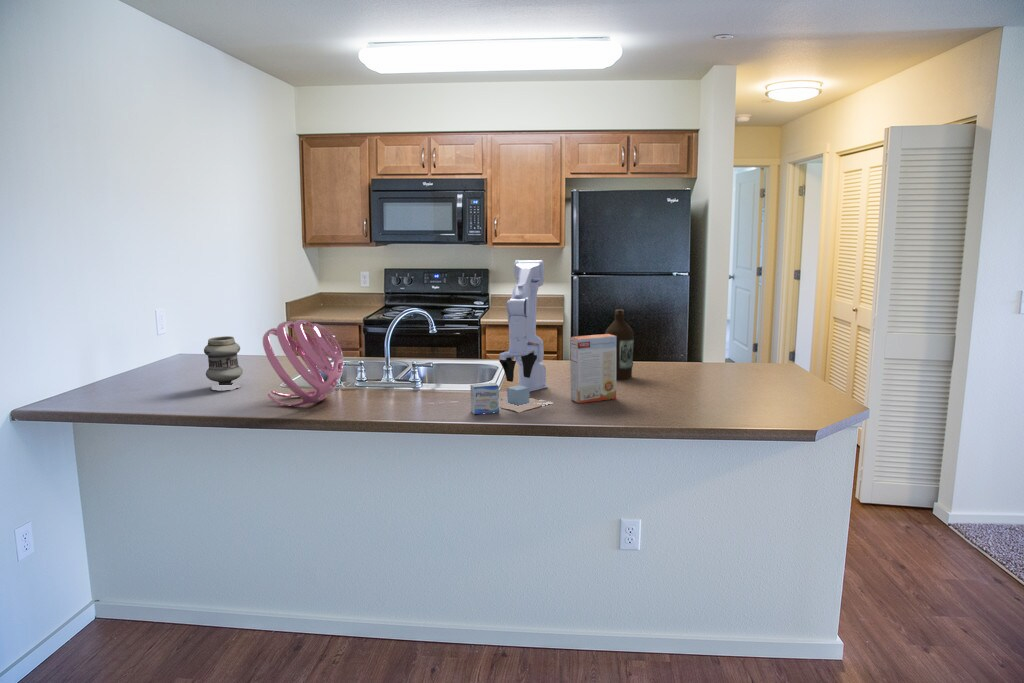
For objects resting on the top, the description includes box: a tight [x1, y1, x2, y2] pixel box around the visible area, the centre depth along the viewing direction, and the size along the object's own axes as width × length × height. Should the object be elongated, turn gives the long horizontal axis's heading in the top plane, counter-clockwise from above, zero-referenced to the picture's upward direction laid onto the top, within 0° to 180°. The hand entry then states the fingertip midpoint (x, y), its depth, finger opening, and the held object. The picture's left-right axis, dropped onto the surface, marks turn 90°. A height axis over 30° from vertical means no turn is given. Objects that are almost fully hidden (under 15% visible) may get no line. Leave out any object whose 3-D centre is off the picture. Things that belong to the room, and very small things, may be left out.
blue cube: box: [506, 385, 530, 406], centre depth 226 cm, size 5×5×5 cm
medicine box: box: [469, 382, 500, 415], centre depth 216 cm, size 8×4×9 cm, turn 106°
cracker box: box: [569, 333, 617, 404], centre depth 229 cm, size 14×6×21 cm, turn 111°
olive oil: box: [604, 309, 635, 381], centre depth 260 cm, size 11×11×25 cm
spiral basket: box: [262, 319, 344, 407], centre depth 229 cm, size 28×28×27 cm
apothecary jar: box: [203, 335, 244, 385], centre depth 250 cm, size 12×12×18 cm
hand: (518, 379), depth 225 cm, fingers open, 7 cm apart
